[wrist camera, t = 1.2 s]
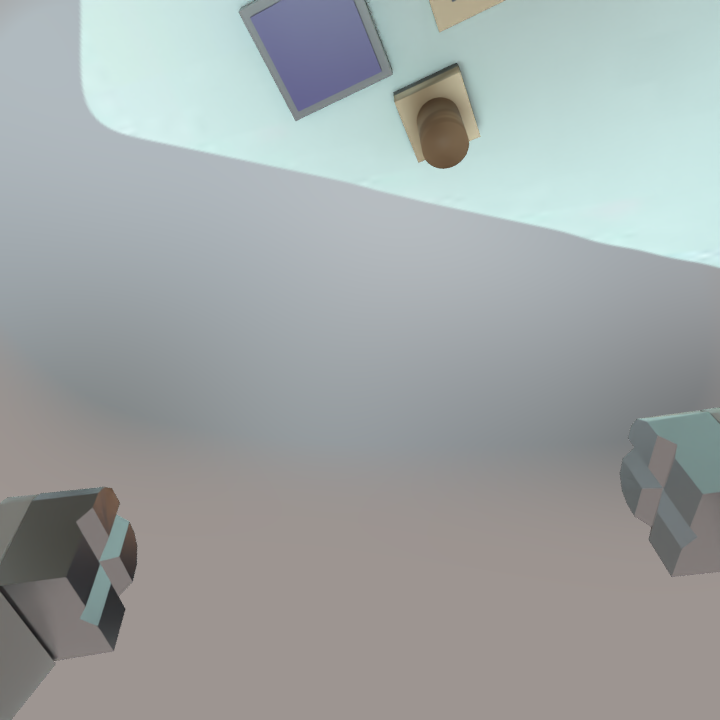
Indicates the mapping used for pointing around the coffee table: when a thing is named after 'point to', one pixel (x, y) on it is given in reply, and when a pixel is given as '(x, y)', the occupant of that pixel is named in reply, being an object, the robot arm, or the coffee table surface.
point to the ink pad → (317, 49)
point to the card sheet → (458, 10)
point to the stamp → (438, 117)
